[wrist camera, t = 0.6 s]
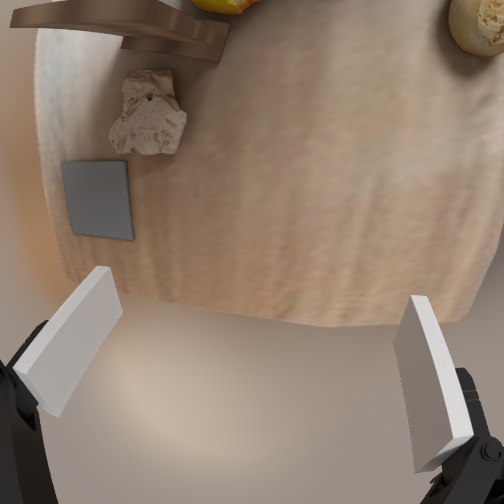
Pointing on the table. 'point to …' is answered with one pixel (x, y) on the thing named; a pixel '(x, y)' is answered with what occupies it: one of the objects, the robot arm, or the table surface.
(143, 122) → the stone
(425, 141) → the table surface
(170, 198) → the table surface
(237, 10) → the fruit
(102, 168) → the pad
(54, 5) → the board
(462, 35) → the bread roll
